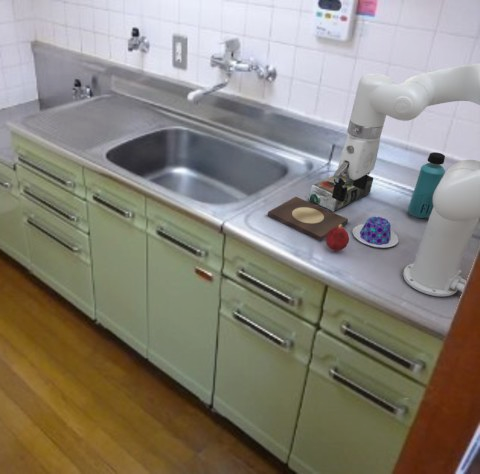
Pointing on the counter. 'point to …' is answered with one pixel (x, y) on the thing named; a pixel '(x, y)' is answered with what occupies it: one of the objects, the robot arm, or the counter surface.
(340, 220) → the cutting board
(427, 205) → the beverage bottle
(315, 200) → the juice carton
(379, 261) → the counter surface
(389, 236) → the pudding
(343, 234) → the red round fruit
